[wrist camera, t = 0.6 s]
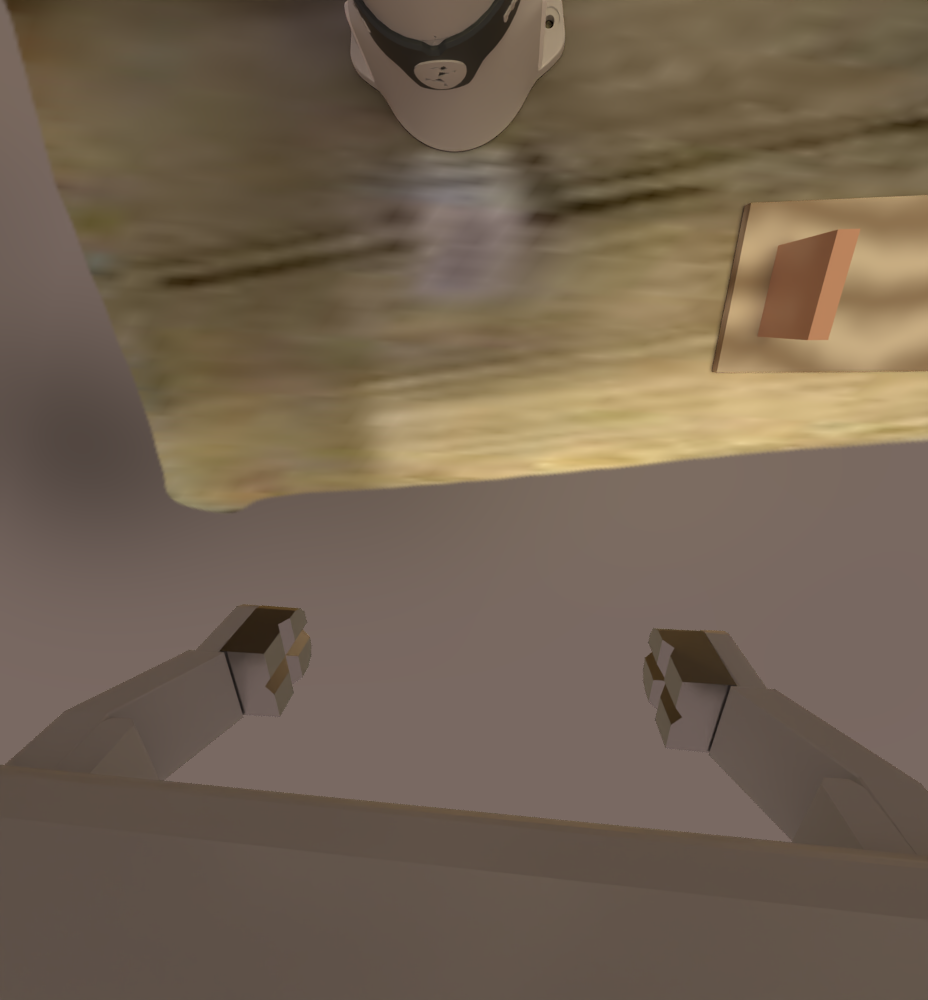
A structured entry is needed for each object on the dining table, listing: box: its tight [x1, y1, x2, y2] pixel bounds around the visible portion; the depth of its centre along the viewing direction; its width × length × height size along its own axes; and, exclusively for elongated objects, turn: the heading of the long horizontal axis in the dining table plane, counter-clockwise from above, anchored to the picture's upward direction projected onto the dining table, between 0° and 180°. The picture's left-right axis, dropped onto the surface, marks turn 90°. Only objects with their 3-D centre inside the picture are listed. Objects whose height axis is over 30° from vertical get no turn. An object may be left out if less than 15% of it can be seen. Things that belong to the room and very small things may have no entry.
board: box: [712, 195, 928, 373], centre depth 42 cm, size 15×22×1 cm
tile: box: [757, 229, 860, 340], centre depth 38 cm, size 8×2×8 cm, turn 1°
